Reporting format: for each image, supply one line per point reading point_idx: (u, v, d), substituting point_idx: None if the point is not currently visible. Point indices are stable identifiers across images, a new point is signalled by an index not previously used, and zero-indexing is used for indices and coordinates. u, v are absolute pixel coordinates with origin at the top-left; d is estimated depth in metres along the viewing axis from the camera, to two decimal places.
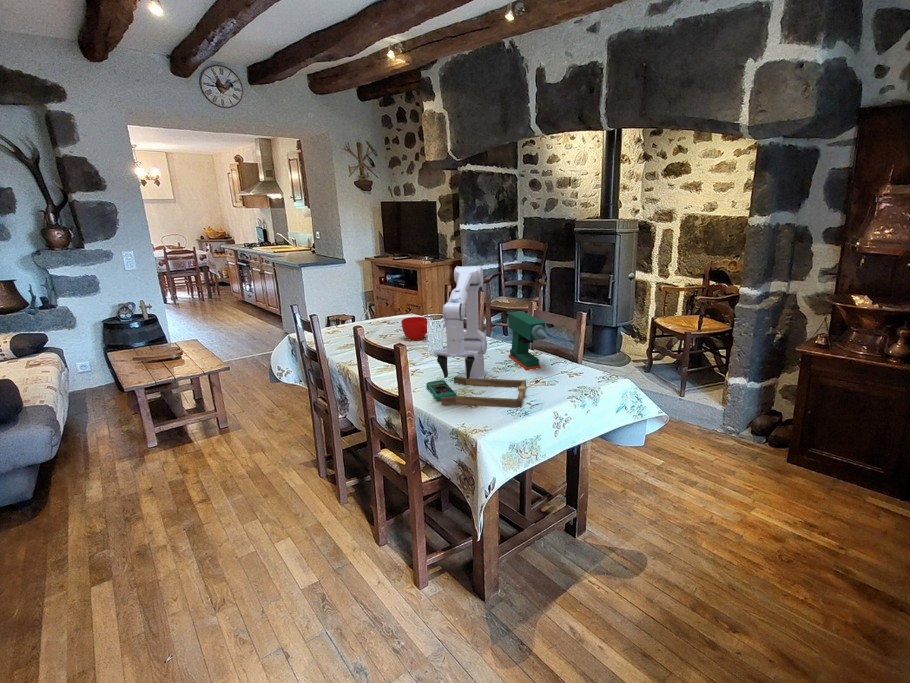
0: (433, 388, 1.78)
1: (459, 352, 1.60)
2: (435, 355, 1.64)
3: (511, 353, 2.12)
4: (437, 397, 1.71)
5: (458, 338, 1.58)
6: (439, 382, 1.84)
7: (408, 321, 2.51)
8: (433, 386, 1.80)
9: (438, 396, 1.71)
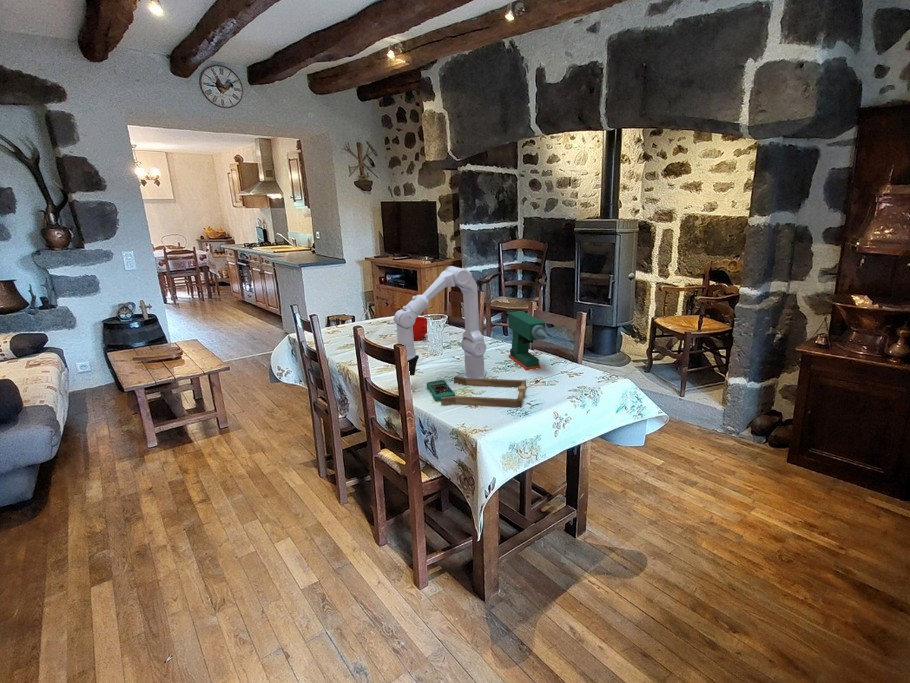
0: (433, 388, 1.78)
1: None
2: None
3: (511, 353, 2.12)
4: (436, 397, 1.71)
5: (401, 343, 1.74)
6: (439, 382, 1.84)
7: None
8: (433, 386, 1.80)
9: (437, 396, 1.71)
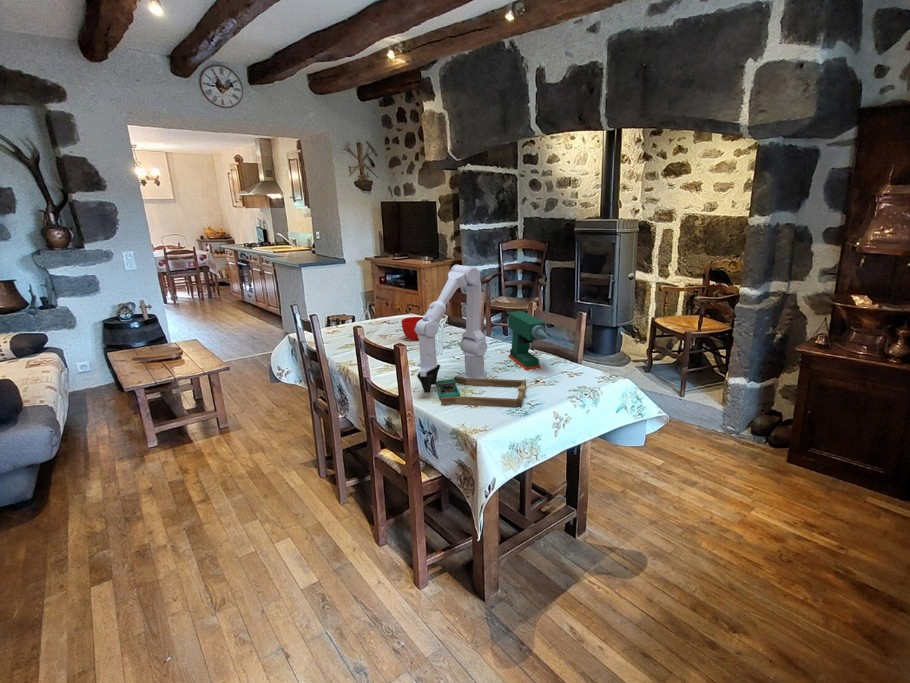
0: (440, 387, 1.79)
1: (421, 364, 1.76)
2: None
3: (511, 353, 2.12)
4: (440, 396, 1.72)
5: (425, 353, 1.73)
6: (448, 381, 1.84)
7: (408, 321, 2.51)
8: (441, 385, 1.80)
9: (441, 395, 1.72)
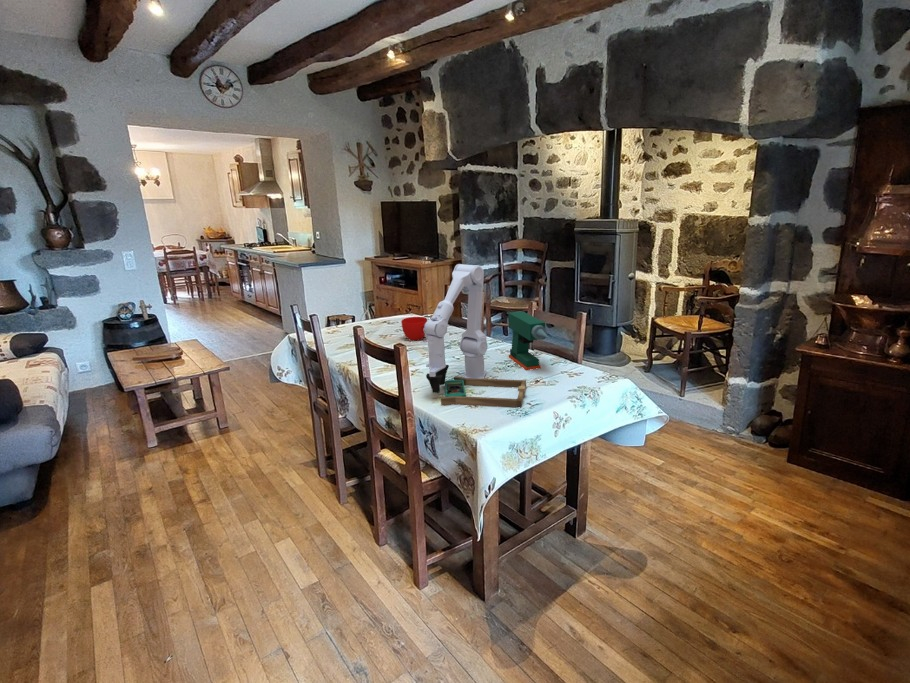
0: (447, 387, 1.78)
1: (429, 365, 1.75)
2: None
3: (511, 353, 2.12)
4: (446, 396, 1.71)
5: (435, 353, 1.72)
6: (457, 382, 1.83)
7: (408, 321, 2.51)
8: (448, 385, 1.80)
9: (447, 396, 1.71)
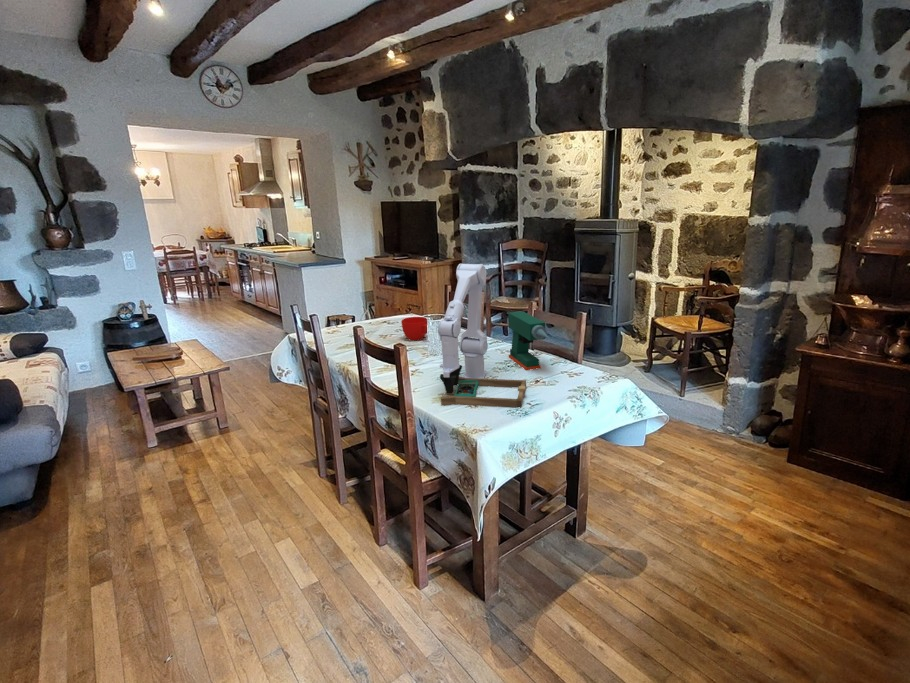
0: (459, 387, 1.78)
1: (443, 365, 1.74)
2: None
3: (511, 353, 2.12)
4: None
5: (451, 353, 1.71)
6: (471, 382, 1.82)
7: (408, 321, 2.51)
8: (461, 385, 1.79)
9: (455, 395, 1.71)
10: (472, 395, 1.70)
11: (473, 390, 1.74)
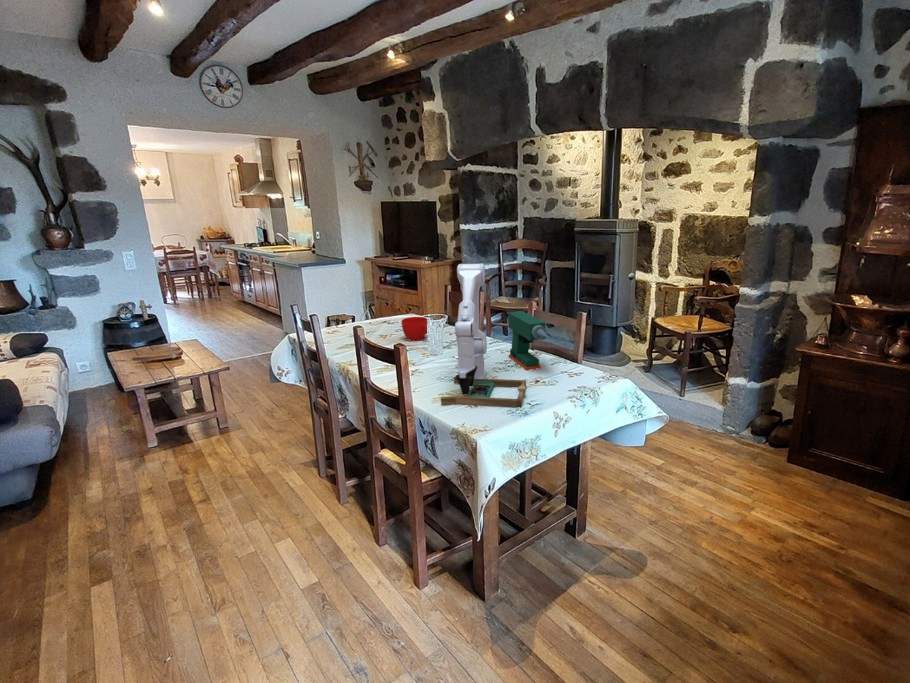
0: (474, 388, 1.77)
1: (459, 366, 1.73)
2: None
3: (511, 353, 2.12)
4: None
5: (469, 353, 1.70)
6: (487, 383, 1.81)
7: (408, 321, 2.51)
8: (476, 386, 1.78)
9: (469, 396, 1.70)
10: (485, 396, 1.69)
11: (487, 391, 1.73)
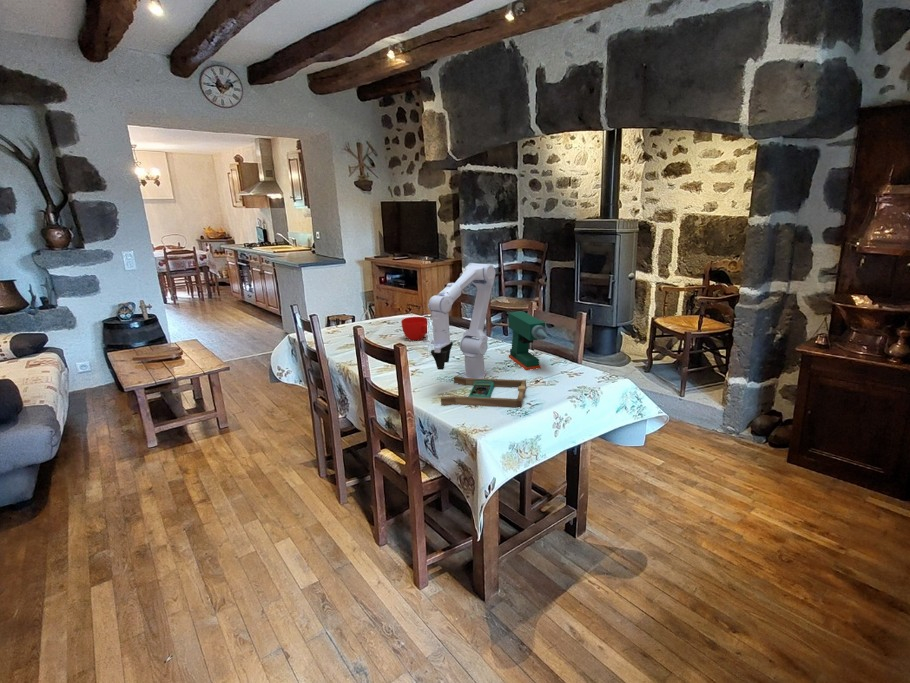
0: (474, 388, 1.77)
1: (434, 341, 1.74)
2: None
3: (511, 353, 2.12)
4: None
5: (440, 329, 1.71)
6: (487, 383, 1.81)
7: (408, 321, 2.51)
8: (476, 386, 1.78)
9: (470, 396, 1.70)
10: (486, 396, 1.69)
11: (488, 391, 1.73)
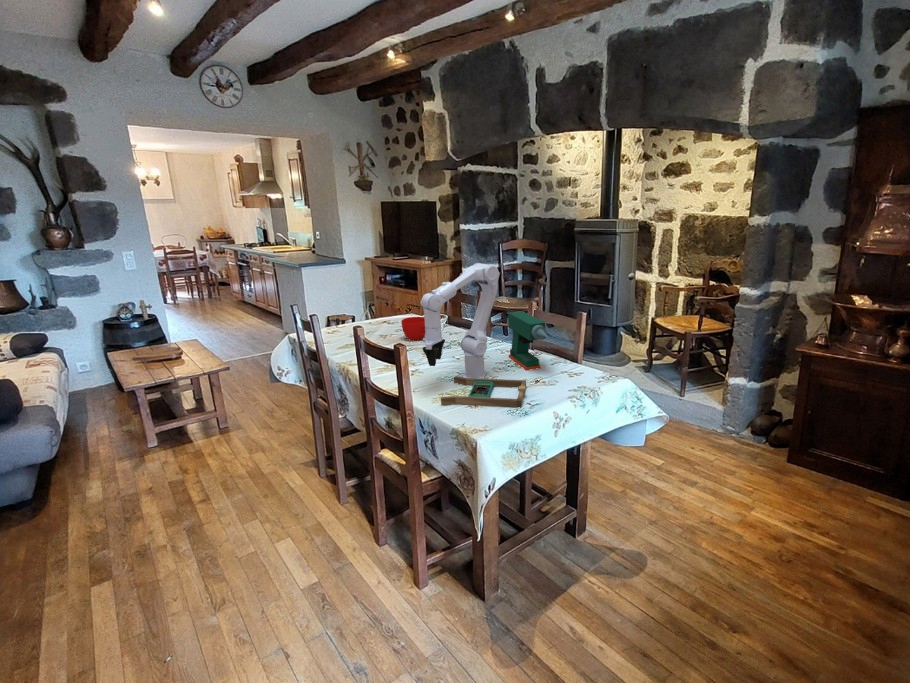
0: (474, 388, 1.77)
1: (426, 338, 1.78)
2: None
3: (511, 353, 2.12)
4: None
5: (429, 326, 1.75)
6: (486, 383, 1.81)
7: (408, 321, 2.51)
8: (476, 386, 1.78)
9: (469, 396, 1.70)
10: (486, 396, 1.69)
11: (487, 391, 1.73)
